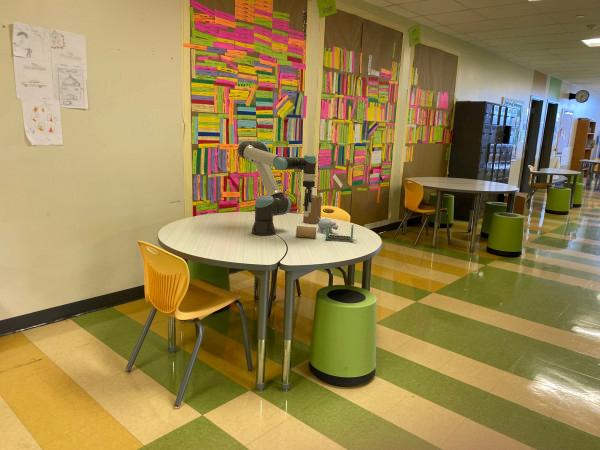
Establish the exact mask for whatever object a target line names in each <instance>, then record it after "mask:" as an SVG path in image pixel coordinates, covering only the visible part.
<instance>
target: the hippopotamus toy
mask: <svg viewBox="0 0 600 450" xmlns="http://www.w3.org/2000/svg"><path fill="white" fill-rule="evenodd" d="M318 218H319V217H318ZM328 223H330V224H329V233H333V232H334V231H335V230H336V231H337V230H338V228H339V225H337V223H336V222H335V221H334V222H333V221H332V220H330V219H328V218H327V219H326V218H325V219H322V218H321V219H320V218H319V223H317V226H318V228H317V230H316V234H324V235H326V226H327V224H328Z"/></svg>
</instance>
